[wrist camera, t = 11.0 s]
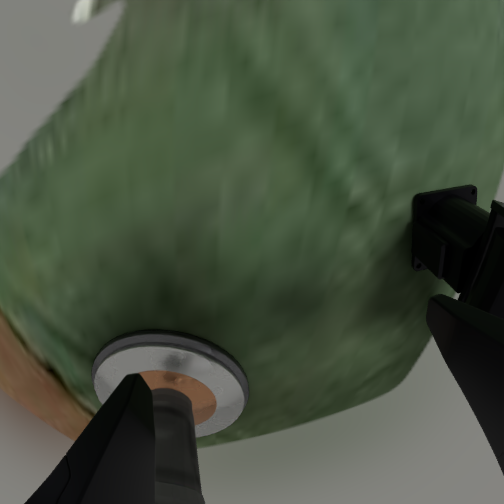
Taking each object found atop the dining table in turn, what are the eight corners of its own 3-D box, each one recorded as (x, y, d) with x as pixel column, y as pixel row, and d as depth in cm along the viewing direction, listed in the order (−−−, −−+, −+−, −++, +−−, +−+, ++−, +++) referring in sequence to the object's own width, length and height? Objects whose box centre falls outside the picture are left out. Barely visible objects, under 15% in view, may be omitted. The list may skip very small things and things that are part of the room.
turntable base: (227, 314, 24) (227, 321, 23) (260, 418, 31) (261, 424, 30) (66, 340, 24) (63, 346, 23) (134, 431, 31) (133, 436, 30)
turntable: (222, 328, 24) (222, 336, 23) (255, 423, 30) (256, 430, 29) (69, 351, 24) (66, 358, 23) (134, 435, 30) (134, 441, 29)
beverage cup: (157, 365, 24) (138, 617, 6) (224, 402, 26) (242, 616, 9) (115, 400, 25) (87, 598, 8) (176, 430, 28) (176, 610, 10)
